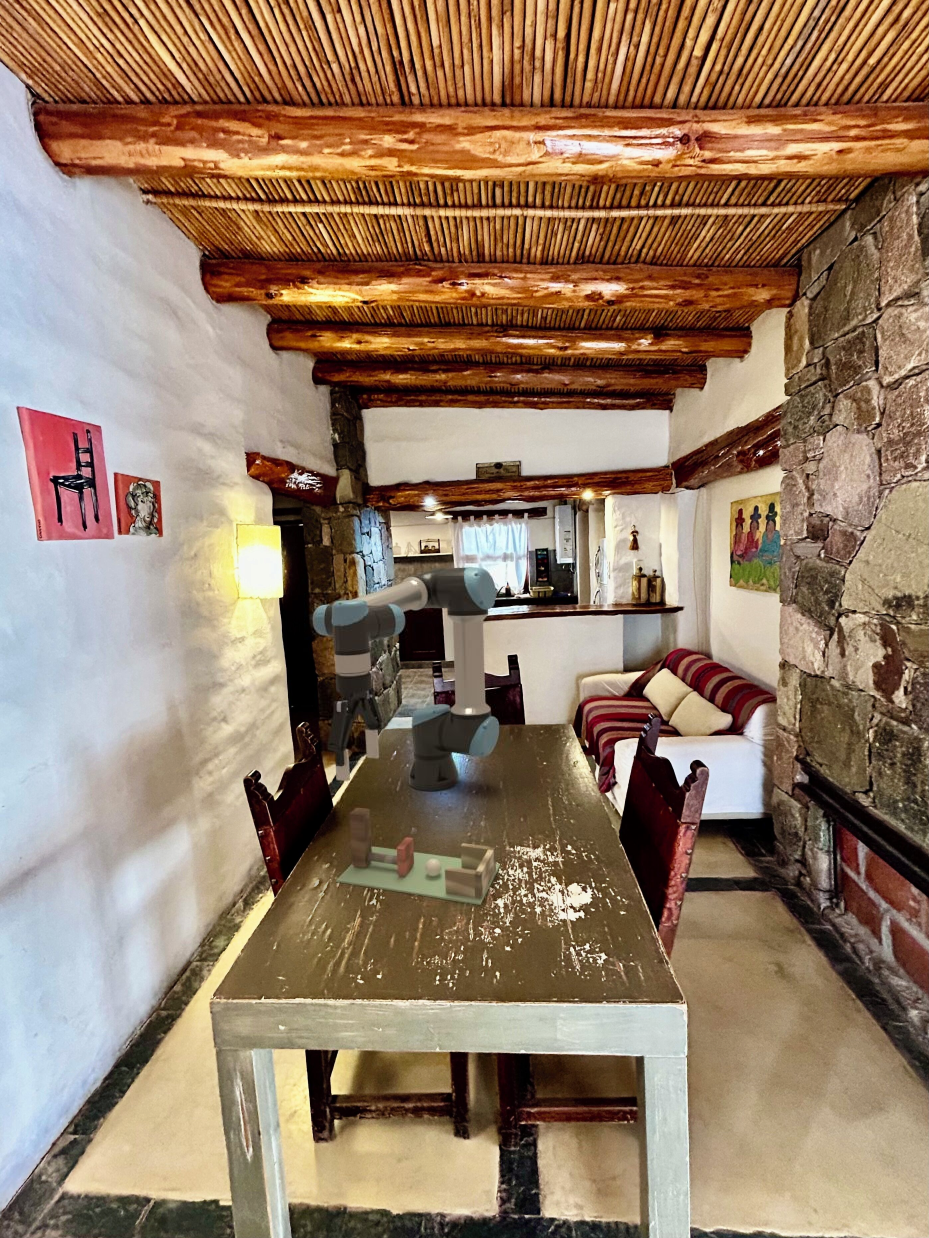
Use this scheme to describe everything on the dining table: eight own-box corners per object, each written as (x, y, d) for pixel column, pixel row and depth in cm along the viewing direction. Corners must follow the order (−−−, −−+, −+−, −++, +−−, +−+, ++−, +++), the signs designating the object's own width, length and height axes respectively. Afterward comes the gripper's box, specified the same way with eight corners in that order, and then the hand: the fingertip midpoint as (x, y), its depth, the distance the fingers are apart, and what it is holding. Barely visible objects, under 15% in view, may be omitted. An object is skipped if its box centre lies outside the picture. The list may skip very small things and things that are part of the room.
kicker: (361, 856, 133) (358, 805, 132) (414, 864, 129) (411, 811, 127) (350, 867, 128) (347, 815, 127) (404, 876, 124) (402, 822, 123)
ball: (429, 869, 127) (428, 854, 126) (444, 872, 126) (443, 856, 125) (423, 878, 124) (422, 862, 123) (438, 880, 122) (437, 865, 122)
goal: (463, 864, 128) (462, 843, 128) (495, 869, 126) (495, 847, 126) (445, 893, 118) (444, 869, 117) (480, 898, 116) (480, 874, 115)
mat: (369, 847, 138) (369, 845, 138) (500, 865, 128) (500, 863, 128) (336, 881, 124) (336, 879, 124) (480, 905, 114) (480, 903, 114)
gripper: (364, 661, 138) (369, 748, 140) (305, 684, 114) (312, 788, 117) (393, 662, 136) (398, 750, 138) (339, 685, 112) (345, 792, 115)
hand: (358, 768), depth 127 cm, fingers open, 13 cm apart
